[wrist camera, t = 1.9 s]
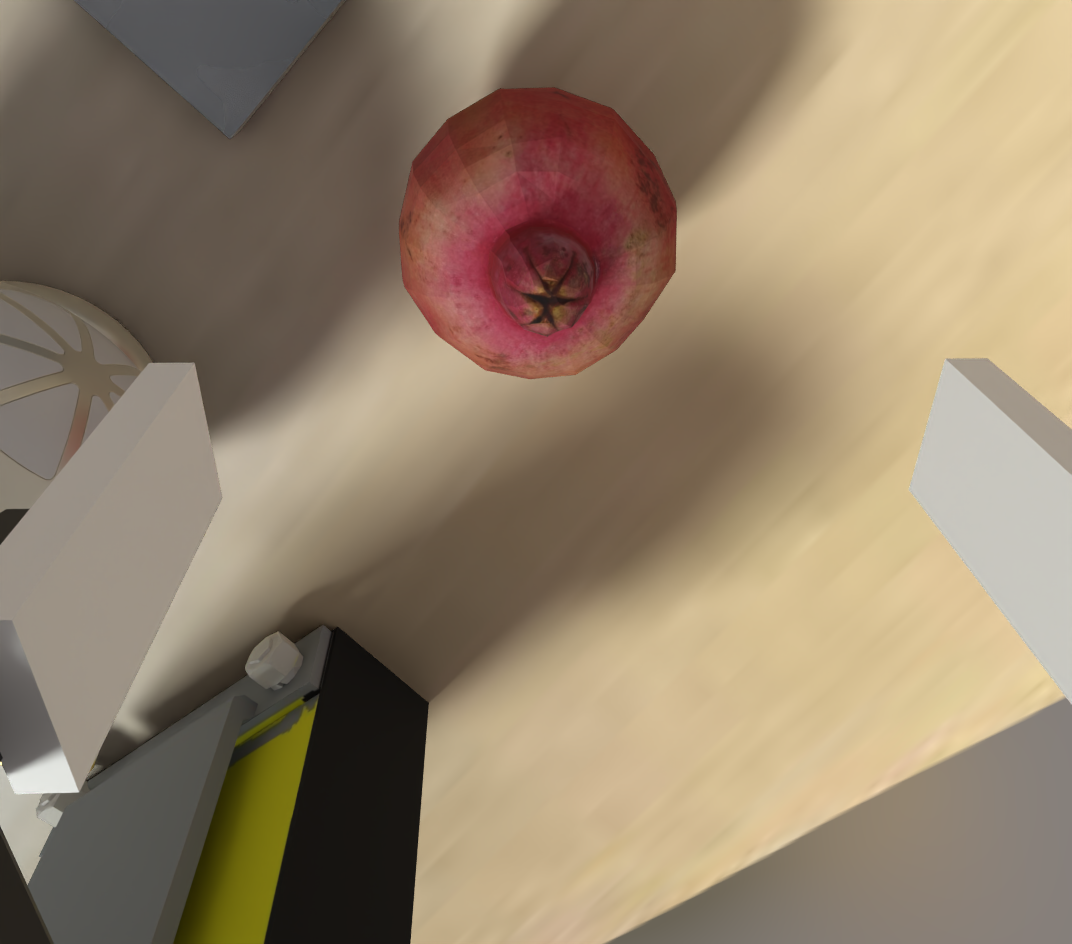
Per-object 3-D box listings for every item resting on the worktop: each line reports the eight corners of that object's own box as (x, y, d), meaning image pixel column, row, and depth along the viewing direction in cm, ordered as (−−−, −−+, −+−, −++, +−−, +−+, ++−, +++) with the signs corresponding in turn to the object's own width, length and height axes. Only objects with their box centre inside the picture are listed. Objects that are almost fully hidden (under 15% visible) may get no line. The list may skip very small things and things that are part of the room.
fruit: (356, 173, 28) (301, 273, 20) (559, 9, 26) (594, 43, 18) (504, 355, 32) (511, 507, 24) (693, 225, 30) (776, 340, 21)
